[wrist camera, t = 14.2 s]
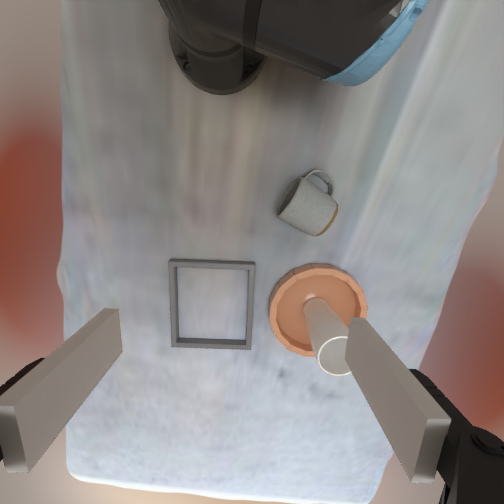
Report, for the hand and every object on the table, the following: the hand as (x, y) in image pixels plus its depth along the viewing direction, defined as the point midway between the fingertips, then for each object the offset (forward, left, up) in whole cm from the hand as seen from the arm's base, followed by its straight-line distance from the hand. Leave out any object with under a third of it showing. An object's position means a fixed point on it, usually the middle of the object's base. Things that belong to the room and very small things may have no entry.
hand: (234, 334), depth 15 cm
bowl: (+15, +14, -35) cm, 40 cm away
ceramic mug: (-6, +11, -35) cm, 37 cm away
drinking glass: (+15, +14, -34) cm, 40 cm away
